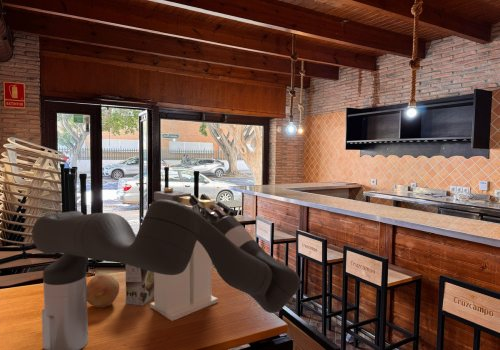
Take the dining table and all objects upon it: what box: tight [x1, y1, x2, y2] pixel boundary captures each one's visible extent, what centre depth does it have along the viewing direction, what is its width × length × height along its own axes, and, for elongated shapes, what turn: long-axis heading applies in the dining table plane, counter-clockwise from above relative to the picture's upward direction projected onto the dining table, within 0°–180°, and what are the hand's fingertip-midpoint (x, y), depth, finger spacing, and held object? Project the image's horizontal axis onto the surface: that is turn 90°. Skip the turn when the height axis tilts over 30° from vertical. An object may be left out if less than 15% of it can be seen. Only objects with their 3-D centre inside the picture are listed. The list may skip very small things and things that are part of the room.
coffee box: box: [125, 264, 154, 307], centre depth 110 cm, size 9×6×16 cm
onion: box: [86, 273, 120, 308], centre depth 105 cm, size 10×10×10 cm
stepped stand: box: [148, 203, 219, 322], centre depth 106 cm, size 17×12×32 cm
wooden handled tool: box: [153, 187, 215, 208], centre depth 97 cm, size 6×22×4 cm, turn 46°
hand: (196, 197), depth 93 cm, fingers closed on wooden handled tool, 3 cm apart
